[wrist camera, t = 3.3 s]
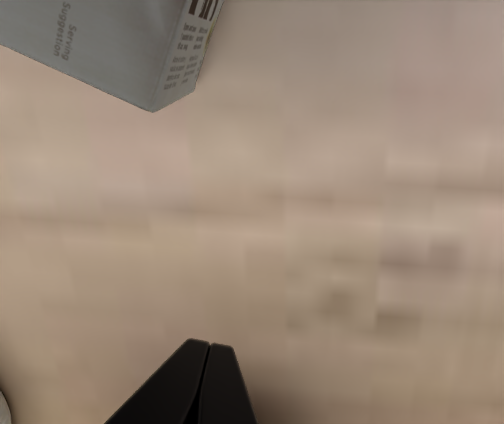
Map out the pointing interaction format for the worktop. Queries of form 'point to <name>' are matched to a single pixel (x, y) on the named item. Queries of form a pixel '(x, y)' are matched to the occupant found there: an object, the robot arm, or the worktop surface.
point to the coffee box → (116, 43)
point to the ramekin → (4, 411)
